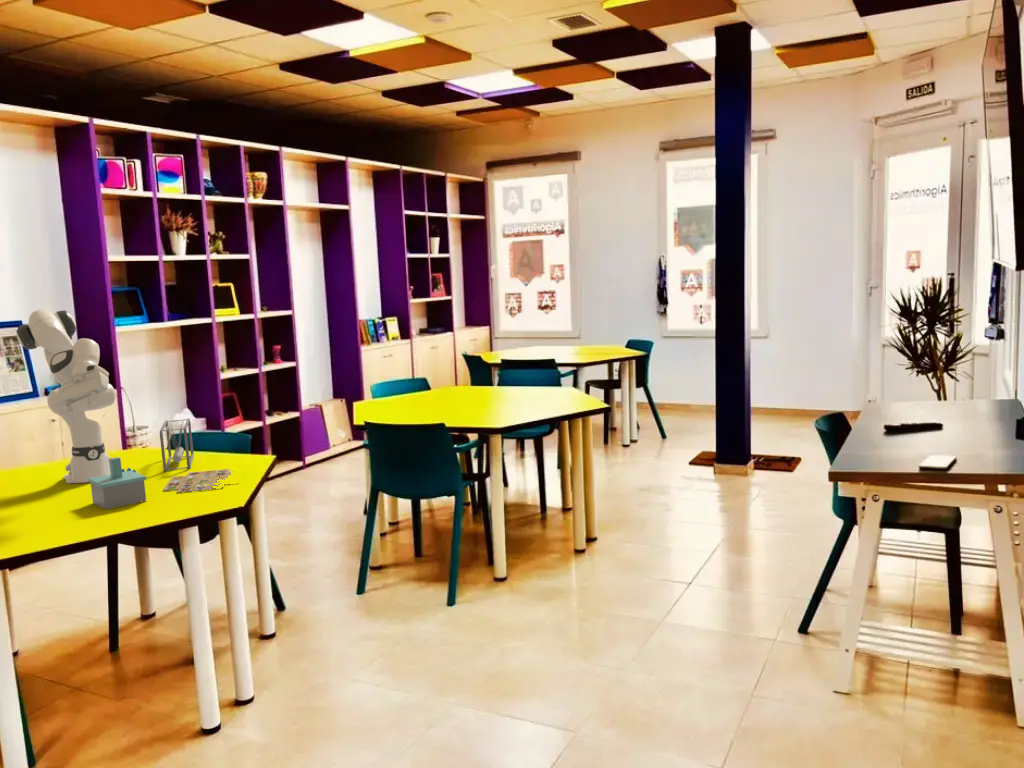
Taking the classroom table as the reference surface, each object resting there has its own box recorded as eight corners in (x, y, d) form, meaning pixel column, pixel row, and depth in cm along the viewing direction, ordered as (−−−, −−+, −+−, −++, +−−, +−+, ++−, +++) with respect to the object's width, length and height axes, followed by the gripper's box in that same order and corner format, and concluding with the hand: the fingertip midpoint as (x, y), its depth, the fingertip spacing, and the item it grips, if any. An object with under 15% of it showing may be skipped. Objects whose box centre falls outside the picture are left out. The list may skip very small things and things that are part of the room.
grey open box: (92, 503, 307) (90, 481, 306) (133, 495, 316) (130, 474, 315) (105, 509, 296) (102, 487, 295) (146, 501, 306) (143, 479, 305)
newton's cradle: (190, 469, 355) (186, 428, 353) (163, 472, 352) (159, 430, 350) (193, 456, 384) (190, 417, 381) (169, 458, 381) (165, 419, 378)
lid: (88, 484, 306) (85, 459, 305) (131, 476, 316) (129, 452, 314) (102, 490, 295) (99, 465, 293) (146, 482, 305) (143, 457, 303)
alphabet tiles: (160, 496, 313) (160, 493, 313) (173, 476, 345) (173, 473, 345) (238, 488, 320) (238, 485, 320) (244, 469, 352) (244, 466, 352)
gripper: (53, 381, 311) (48, 412, 304) (100, 363, 307) (96, 395, 300) (66, 389, 316) (62, 420, 309) (112, 372, 313) (109, 403, 305)
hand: (79, 408), depth 304 cm, fingers open, 8 cm apart
